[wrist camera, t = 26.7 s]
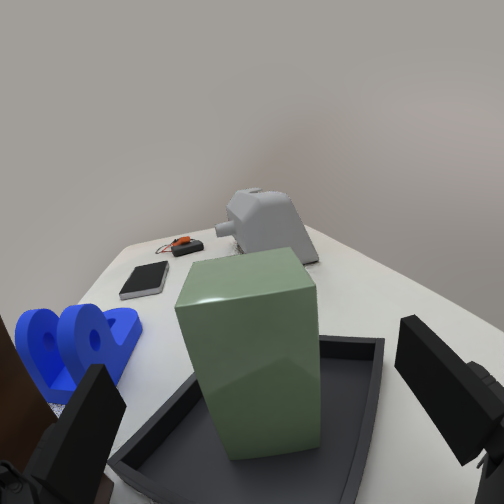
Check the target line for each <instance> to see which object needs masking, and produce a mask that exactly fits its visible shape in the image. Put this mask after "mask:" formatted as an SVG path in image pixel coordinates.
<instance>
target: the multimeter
mask: <svg viewBox="0 0 504 504" xmlns="http://www.w3.org/2000/svg"><path fill="white" fill-rule="evenodd" d="M190 240H194V239H190V237H189V236H187V237H181V238H179V239H177V241H176V239H175V240H174V241H173V242H172V243H173V244H172V243H171V244H172V245H173V247H171V250H172V251H164V250H165V249H166V248H167V247H166V248H165V249H164V250H163V251H161V252H172V253H173V254H174V256H179V255H183V254H186V253H190V252H194V251H198V250H202V249H204V246H203V243H202V242H201V241H199V240H196V241H192V242H190ZM171 244H170V246H171ZM165 246H168V245H165ZM162 247H163V246H162ZM168 247H169V246H168ZM159 249H160V248H159ZM159 249H158V250H159ZM158 250H157V251H158ZM157 251H156V252H157ZM159 253H160V252H159ZM156 254H158V253H156Z"/></svg>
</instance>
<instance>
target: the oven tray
mask: <svg viewBox="0 0 504 504" xmlns="http://www.w3.org/2000/svg"><path fill="white" fill-rule="evenodd" d="M384 344H385V338H364V337H343V336H327V335H319V347H320V389H321V426H320V447H318V448H313V449H308V450H303V451H298V452H293V453H287V454H281V455H274V456H267V457H259V458H251V459H241V460H229V458H228V456H227V454H226V451H225V449H224V447H223V444H222V442H221V440H220V437H219V435H218V432H217V430H216V427H215V425H214V422H213V420H212V417H211V415H210V412H209V410H208V407H207V405H206V402H205V399H204V397H203V394H202V391H201V388H200V386H199V383H198V380H197V377H196V374H195V372H194V373H193V374H192V375H191V376H190V377H189V378H188V379H187V380H186V381H185V382H184V383H183V384H182V385H181V386H180V388H179V389H178V390H177V391H176V392H175V393H174V394H173V395H172V396H171V397H170V398H169V399H168V400H167V401H166V402H165V403H164V404H163V405H162V406H161V407H160V408H159V409H158V411H157V412H156V413H155V414H154V415H153V416H152V417H151V418H150V419H149V420H148V421H147V422H146V423H145V424H144V425H143V426H142V427H141V428H140V429H139V430H138V431H137V432H136V433H135V434H134V435H133V436H132V437H131V438H130V439H129V440H128V441H127V442H126V443H125V444H124V445H123V446H122V447H121V448H120V449H119V450H118V451H117V452H116V453H115V454H114V455H113V456H112V457H111V458H110V459H109V460H108V461H107V464H108V465H109V466H110V467H111V468H112V469H113V471H114V472H115V473H116V474H117V475H118V476H119V477H120V478H121V479H122V480H123V481H124V482H126V483H127V484H129V485H130V486H132V487H133V488H135V489H136V490H138V491H140V492H141V493H143V494H144V495H146V496H148V497H149V498H151V499H153V500H154V501H156V502H158V503H159V504H355V500H356V497H357V494H358V490H359V487H360V483H361V480H362V476H363V472H364V468H365V464H366V460H367V456H368V452H369V447H370V442H371V438H372V433H373V427H374V422H375V416H376V410H377V404H378V398H379V391H380V383H381V375H382V366H383V356H384Z"/></svg>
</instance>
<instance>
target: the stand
mask: <svg viewBox="0 0 504 504" xmlns="http://www.w3.org/2000/svg"><path fill="white" fill-rule="evenodd" d="M57 421H58V417H57V416H56V415H55V413H54V412H53V410H52V409H51V407H50V406H49V405H48V403H47V402H46V400H45V399H44V397H43V395H42V394H41V392H40V391H39V389H38V388H37V386H36V384H35V383H34V381H33V379H32V378H31V376H30V374H29V372H28V371H27V369H26V367H25V365H24V364H23V362H22V360H21V358H20V356H19V354H18V352H17V350H16V348H15V346H14V344H13V342H12V340H11V338H10V336H9V334H8V332H7V329H6V327H5V325H4V323H3V320H2V318H1V316H0V460H7V461H9V462H10V463H11V464H12V465H13V466H14V467H15V468H16V469H17V470H18V471H19V472H20V473H21V474H22V473H23V471H24V469H25V467H26V465H27V463H28V461H29V459H30V457H31V456H32V454H33V452H34V450H35V448H37V447H36V446H37V444H38V442H39V441H40V439H41V437H42V435H43V433H44V431H45V430H46V429H47V428H48V427H49V426H50V425H51V424H52V423H54V424H56V422H57ZM113 485H114V483H113V482H112V481H111V480H110V479H109V478H108V477H107V476H106V475H105V473H104V472H103V475H102V479H101V482H100V485H99V488H98V491H97V495H96V498H95V501H94V504H109V500H110V496H111V492H112V489H113Z"/></svg>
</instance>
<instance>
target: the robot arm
mask: <svg viewBox="0 0 504 504" xmlns="http://www.w3.org/2000/svg"><path fill="white" fill-rule="evenodd" d="M394 367H395V368H396V369H397V371H398V372H399V374H400V375H401V376H402V378H403V379H404V381H405V382H406V383H407V385H408V386H409V388H410V389H411V390H412V392H413V393H414V395H415V396H416V398H417V399H418V400H419V402H420V403H421V405H422V406H423V408H424V409H425V411H426V412H427V414H428V415H429V417H430V418H431V420H432V421H433V423H434V424H435V425H436V427H437V428H438V430H439V432H440V433H441V435H442V436H443V438H444V439H445V441H446V442H447V444H448V445H449V447H450V448H451V450H452V452H453V453H454V455H455V456H456V458H457V459H458V461H459V463H460V464H461V466H464V465H466V464H467V463H469V462H470V461H472V460H473V459H475V458H476V457H478V455H479V454H480V453H481V451H482V450H483V448H484V449H485V450H486V452H487V453H486V454H485V456H484V457H483V458H482V459H481V461H480V462H479V463H478V465H477V468H478V469H479V468H480V466H481V465H482V464H483V468H482V474H481V479H480V483H479V488H478V492H477V496H476V500H475V504H504V387H503V386H502V385H501V384H500V383H499V382H498V381H497V382H496V379H495V378H494V377H493V376H492V375H490V373H489V372H488V371H487V370H486V369H485V368H484V367H483V366H481V365H479V364H477V363H475V362H473V361H471V362H469V363H467V364H466V363H465V362H464V361H463V360H462V359H461V358H460V357H459V356H458V355H457V354H456V353H455V352H454V351H453V350H452V349H451V348H450V347H449V346H448V345H447V344H446V343H445V342H444V341H442V340H441V339H440V338H439V337H438V336H437V335H436V334H435V333H434V332H433V331H432V330H431V329H430V328H429V327H428V326H427V325H426V324H425V323H424V322H422V321H421V320H420V319H419V318H418V317H417V316H416V315H415V314H414V315H411V316H408V317H404V318H401V321H400V330H399V338H398V345H397V352H396V359H395V365H394ZM126 407H127V406H126V404H125V402H124V400H123V399H122V397H121V395H120V393H119V391H118V390H117V388H116V386H115V384H114V382H113V380H112V378H111V376H110V374H109V372H108V370H107V368H106V366H105V364H91V365H90V366H89V368H88V369H87V371H86V373H85V374H84V376H83V378H82V379H81V381H80V383H79V384H78V386H77V388H76V389H75V391H74V393H73V394H72V396H71V398H70V399H69V401H68V403H67V405H66V406H65V408H64V410H63V412H62V413H61V415H60V417H59V419H58V421H57V422H56V424H54V423H52V424H51V425H50V426H49V427H48V428H47V429H46V430H45V431H44V433H43V435H42V437H41V439H40V441H39V442H38V444H37V446H36V447H37V448H35V450H34V452H33V454H32V456H31V457H30V459H29V461H28V463H27V465H26V467H25V469H24V471H23V473H22V474H21V473H20V472H19V471H18V470H17V469H16V468H15V467H14V466H13V465H12V464H11V463H10V462H9V461H7V460H0V504H94V501H95V498H96V495H97V491H98V488H99V485H100V482H101V479H102V475H103V472H104V469H105V466H106V463H107V460H108V457H109V454H110V451H111V448H112V446H113V443H114V440H115V437H116V434H117V431H118V429H119V426H120V423H121V420H122V418H123V415H124V412H125V410H126Z"/></svg>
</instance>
